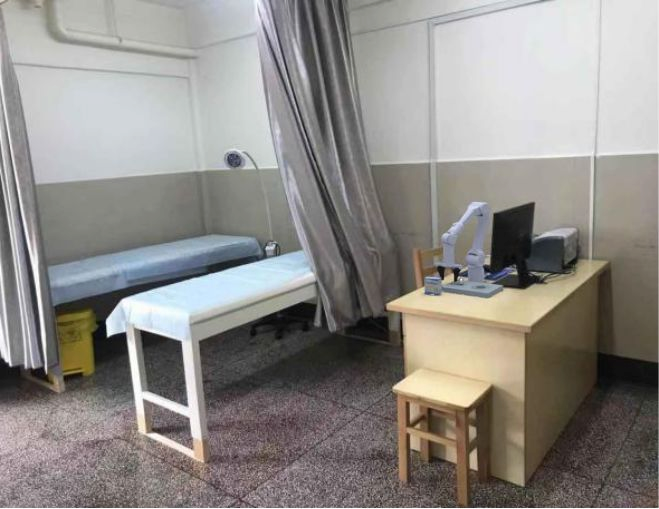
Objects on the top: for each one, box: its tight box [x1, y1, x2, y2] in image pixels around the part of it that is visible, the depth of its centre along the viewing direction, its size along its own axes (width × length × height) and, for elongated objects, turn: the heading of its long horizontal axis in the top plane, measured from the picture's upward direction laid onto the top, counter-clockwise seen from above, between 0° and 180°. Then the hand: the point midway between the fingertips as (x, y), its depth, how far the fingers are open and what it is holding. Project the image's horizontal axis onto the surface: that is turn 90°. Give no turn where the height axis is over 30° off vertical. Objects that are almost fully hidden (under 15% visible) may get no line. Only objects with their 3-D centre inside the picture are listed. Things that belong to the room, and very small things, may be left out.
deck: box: [442, 279, 504, 299], centre depth 283 cm, size 26×18×2 cm
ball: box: [457, 277, 466, 285], centre depth 287 cm, size 4×4×4 cm
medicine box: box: [424, 276, 443, 296], centre depth 281 cm, size 8×4×9 cm, turn 62°
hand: (449, 280), depth 291 cm, fingers open, 7 cm apart
